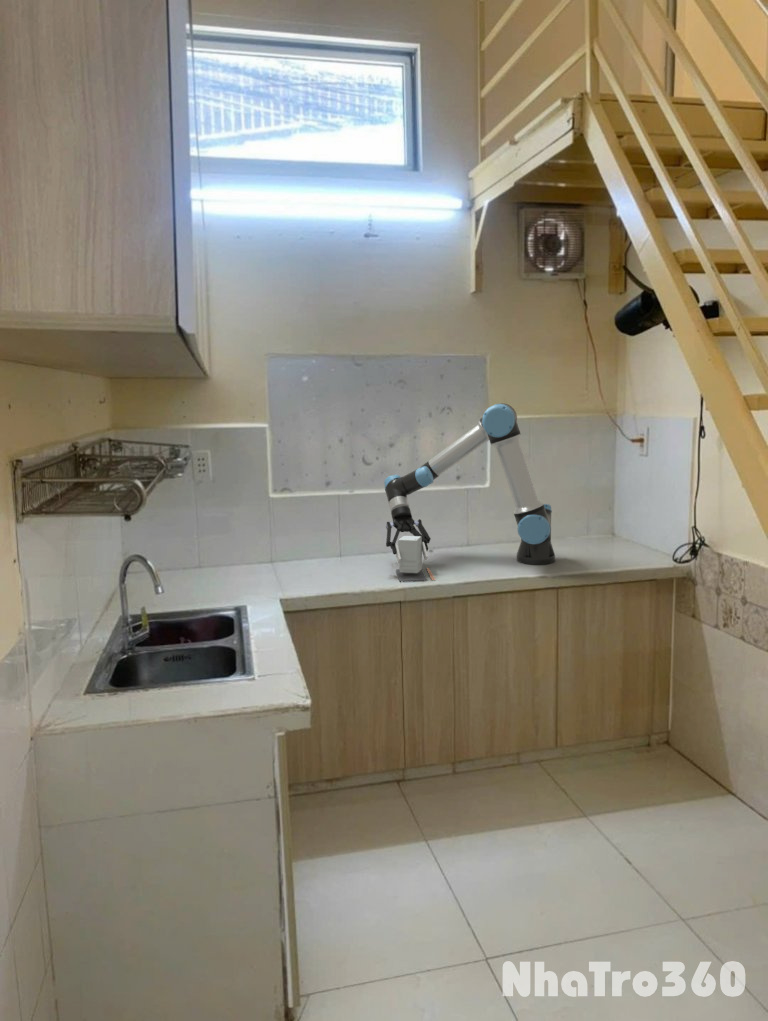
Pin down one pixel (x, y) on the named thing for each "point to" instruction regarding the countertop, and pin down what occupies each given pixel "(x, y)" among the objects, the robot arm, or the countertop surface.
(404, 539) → the supplement box
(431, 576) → the terracotta line
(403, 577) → the mat
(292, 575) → the countertop surface
